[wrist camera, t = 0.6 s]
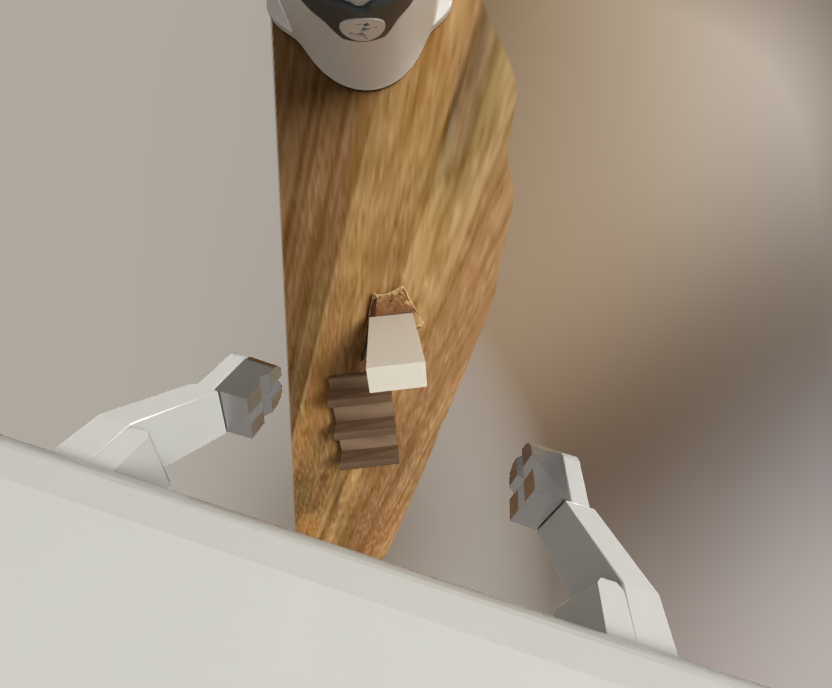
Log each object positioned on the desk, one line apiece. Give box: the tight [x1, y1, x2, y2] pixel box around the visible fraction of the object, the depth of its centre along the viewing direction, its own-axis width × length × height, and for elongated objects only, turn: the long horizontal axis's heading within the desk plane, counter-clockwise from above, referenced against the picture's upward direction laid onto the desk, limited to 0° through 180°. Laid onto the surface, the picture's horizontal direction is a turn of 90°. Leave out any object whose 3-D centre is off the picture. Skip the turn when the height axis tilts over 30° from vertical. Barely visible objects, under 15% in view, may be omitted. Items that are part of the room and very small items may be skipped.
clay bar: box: [366, 313, 427, 393], centre depth 41 cm, size 3×6×14 cm, turn 95°
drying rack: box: [327, 372, 399, 470], centre depth 52 cm, size 16×9×4 cm, turn 4°
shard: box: [361, 286, 424, 361], centre depth 48 cm, size 11×8×2 cm
